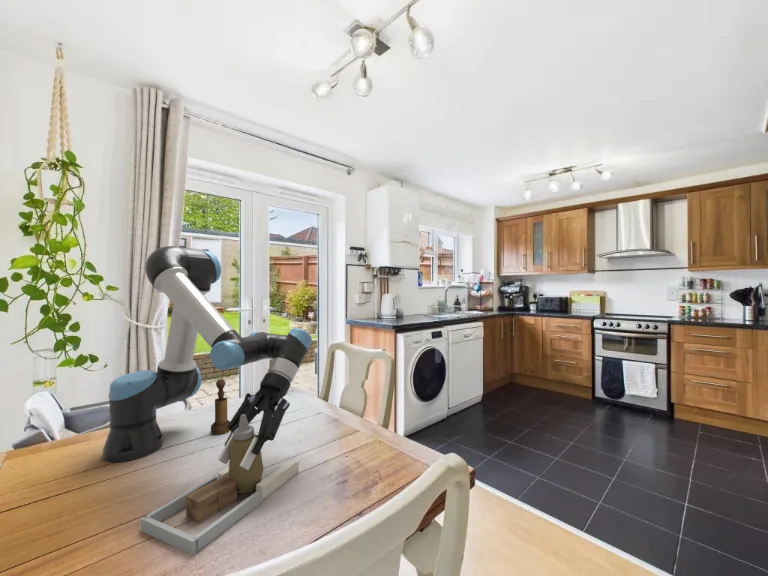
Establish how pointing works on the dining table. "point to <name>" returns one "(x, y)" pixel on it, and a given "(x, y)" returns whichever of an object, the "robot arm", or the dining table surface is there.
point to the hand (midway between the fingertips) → (232, 464)
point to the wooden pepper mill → (220, 411)
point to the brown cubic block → (224, 491)
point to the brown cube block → (201, 504)
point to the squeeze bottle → (238, 449)
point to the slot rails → (271, 477)
